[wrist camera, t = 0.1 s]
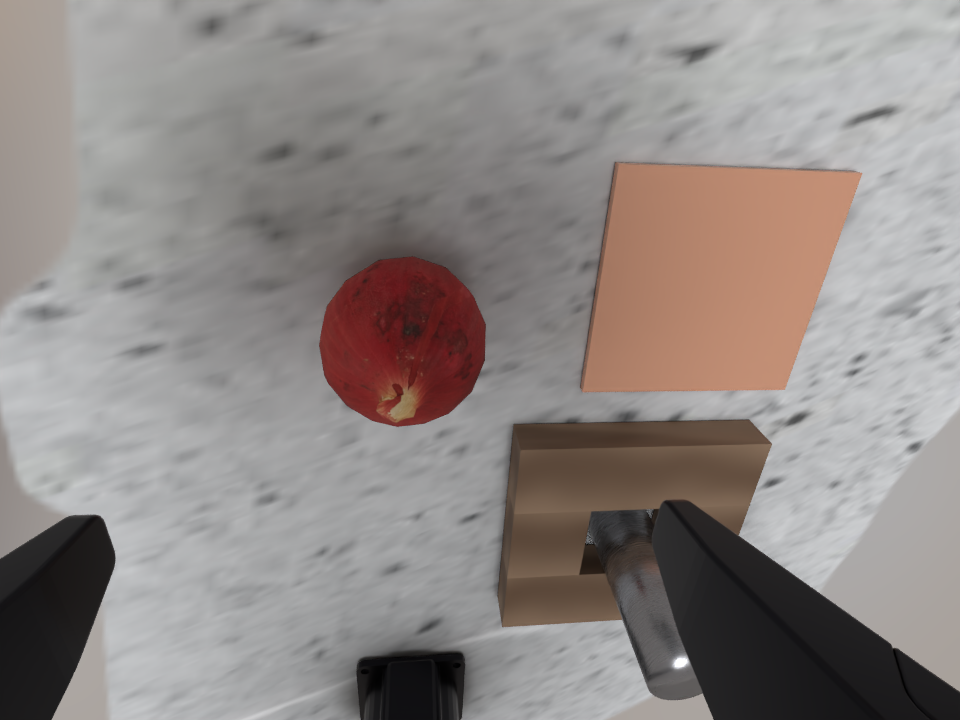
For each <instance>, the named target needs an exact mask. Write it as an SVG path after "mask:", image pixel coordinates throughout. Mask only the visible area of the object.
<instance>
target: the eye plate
mask: <svg viewBox="0 0 960 720" xmlns="http://www.w3.org/2000/svg"><path fill="white" fill-rule="evenodd" d="M771 445H772V443H771V442H770V441H769V440H768V439H767V438H766V437H765V436H764V435H763V434H762V433H761V432H760V431H759V430H758V429H757V428H756V427H755V426H754V424H753V423H752V422H751V421H750V420H721V421H668V422H615V423H562V424H514V426H513V437H512V448H511V458H510V469H509V480H508V490H507V501H506V512H505V522H504V533H503V544H502V554H501V565H500V576H499V586H498V602H499V608H500V615H501V621H502V627H512V626H528V625H544V624H561V623H577V622H593V621H609V620H622V618H621V615H620V612H619V610H618V607H617V604H616V602H615V599H614V596H613V594H612V591H611V588H610V586H609V583H608V580H607V578H606V575H605V572H604V570H603V567H602V564H601V562H600V559H599V556H598V554H597V551H596V548H595V546H594V545H585V542H586V536H587V531H588V526H589V521H590V515H591V511H614V510H640V509H654V512H653V516H652V520H651V521H652V523H653V525H654V526H655V522H656V519H657V515H658V512H659V508H660V505H661V503H662V502H663V501H664V500H668V499H686V500H689V501H690V502H692V503H693V504H695V505H696V506H697V507H699V508H700V509H702V510H703V511H704V512H706V513H707V514H709V515H710V516H712V517H713V518H714V519H716V520H717V521H719V522H720V523H721V524H723V525H724V526H726V527H727V528H728V529H730V530H731V531H733V532H734V533H735V534H737V535H739V533H740V530H741V527H742V524H743V522H744V519H745V516H746V514H747V511H748V508H749V505H750V503H751V500H752V497H753V494H754V492H755V489H756V486H757V483H758V481H759V478H760V475H761V472H762V470H763V467H764V464H765V462H766V459H767V456H768V453H769V451H770V448H771Z"/></svg>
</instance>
